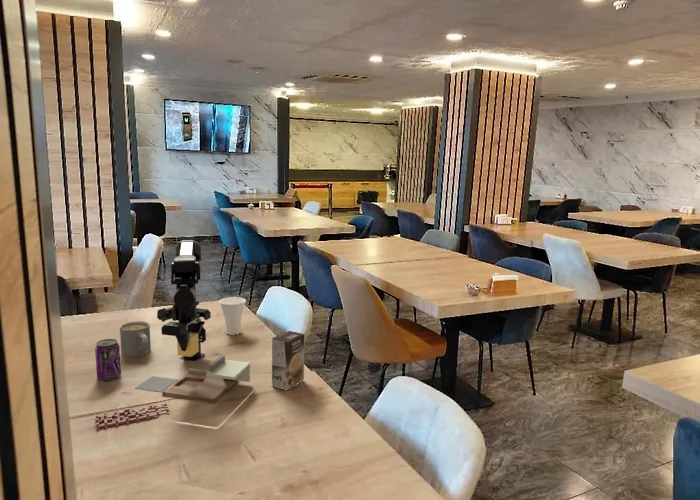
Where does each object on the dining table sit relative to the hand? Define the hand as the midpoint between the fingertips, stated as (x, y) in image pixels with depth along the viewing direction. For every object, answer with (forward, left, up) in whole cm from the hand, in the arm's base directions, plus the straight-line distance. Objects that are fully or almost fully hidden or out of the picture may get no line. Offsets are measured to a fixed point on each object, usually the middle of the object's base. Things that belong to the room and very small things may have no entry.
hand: (188, 348), depth 160 cm
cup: (-49, -9, -13) cm, 52 cm away
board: (0, +4, -13) cm, 14 cm away
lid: (-1, +13, -11) cm, 17 cm away
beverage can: (+1, -28, -13) cm, 31 cm away
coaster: (+2, -10, -13) cm, 17 cm away
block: (0, 0, -2) cm, 2 cm away
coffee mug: (-19, -32, -13) cm, 40 cm away
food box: (-11, +29, -13) cm, 33 cm away
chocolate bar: (+20, -5, -14) cm, 25 cm away
